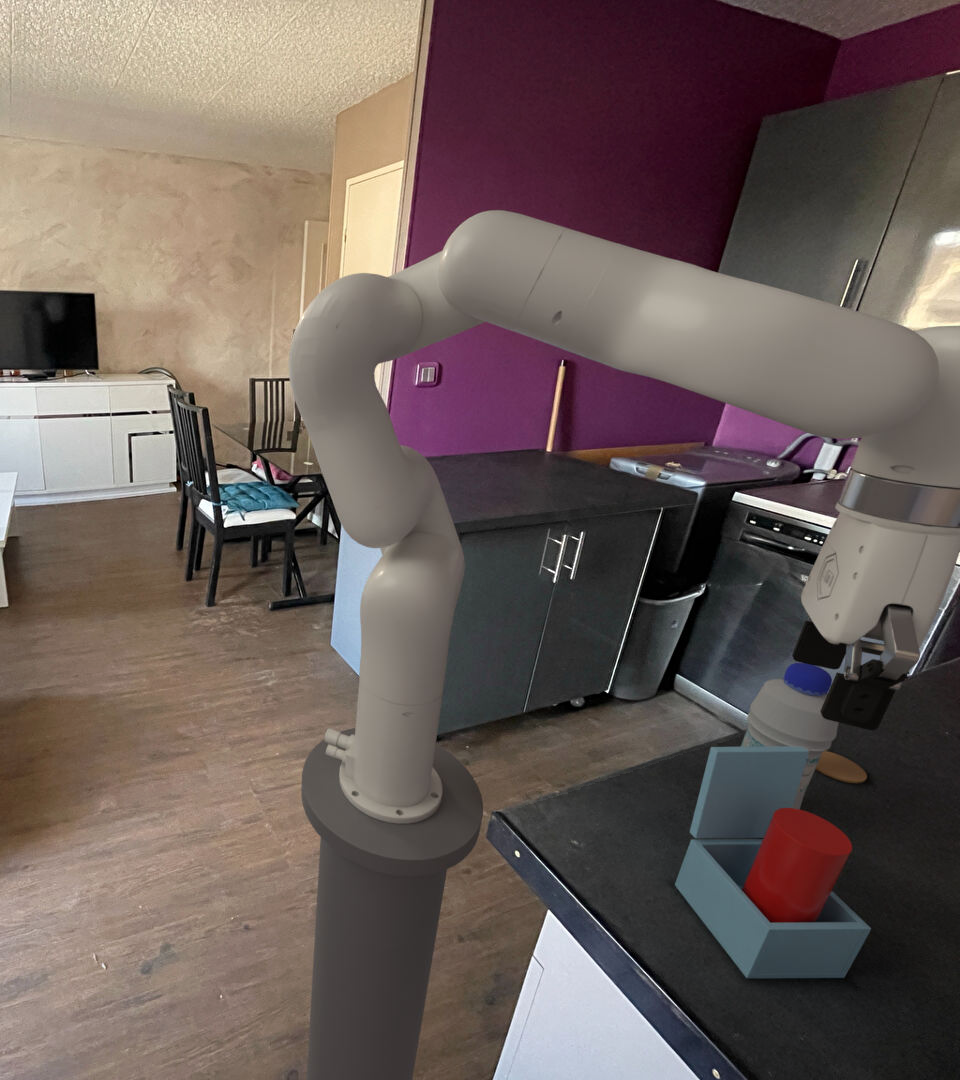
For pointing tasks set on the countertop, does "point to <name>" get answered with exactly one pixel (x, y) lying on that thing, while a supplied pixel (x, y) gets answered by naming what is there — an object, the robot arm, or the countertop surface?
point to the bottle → (793, 717)
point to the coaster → (840, 768)
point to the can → (796, 866)
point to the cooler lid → (746, 790)
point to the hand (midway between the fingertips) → (829, 691)
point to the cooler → (764, 918)
